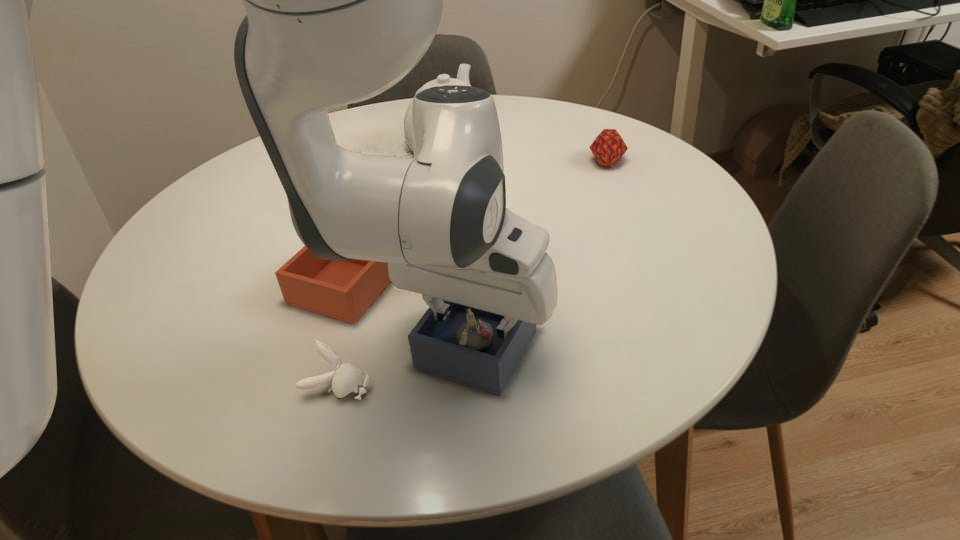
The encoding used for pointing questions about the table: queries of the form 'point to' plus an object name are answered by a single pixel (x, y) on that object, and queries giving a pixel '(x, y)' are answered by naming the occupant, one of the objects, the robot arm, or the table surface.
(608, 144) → the decorative stone
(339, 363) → the rabbit figurine
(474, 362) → the slate bin
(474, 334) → the figurine
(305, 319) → the table surface
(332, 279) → the terracotta bin
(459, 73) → the teapot
